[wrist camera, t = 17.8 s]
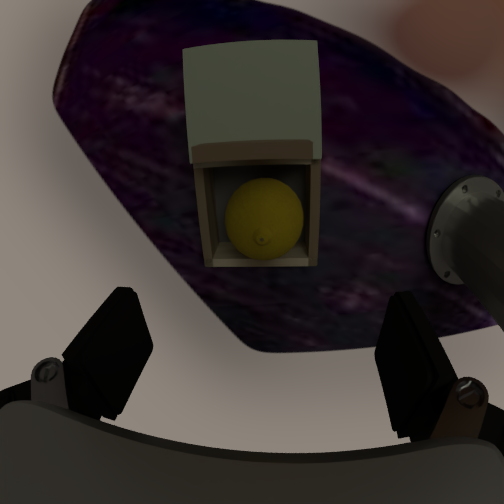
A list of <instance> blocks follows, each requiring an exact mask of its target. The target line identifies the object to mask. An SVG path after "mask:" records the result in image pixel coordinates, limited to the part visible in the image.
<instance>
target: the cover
mask: <svg viewBox="0 0 504 504" xmlns="http://www.w3.org/2000/svg"><path fill="white" fill-rule="evenodd" d="M183 71H184V91H185V108H186V122H187V135H188V147H189V159H190V163H202V162H215V161H232V160H254V159H322V135H321V98H320V77H319V61H318V48H317V41H312V40H258V41H242V42H230V43H221V44H213V45H205V46H198V47H192V48H186V49H183Z"/></svg>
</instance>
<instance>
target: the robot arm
mask: <svg viewBox="0 0 504 504" xmlns="http://www.w3.org/2000/svg"><path fill="white" fill-rule="evenodd" d="M426 247H427V255H428V258H429V262H430V264H431V266H432V268H433V270H434V271H435V272H436V273H437V274H438V276H439V277H440V278H442V279H443V280H444V281H446V282H448V283H451V284H465V285H466V286H467V287H468V288H469V289H470V290H471V292H472V293H473V294H474V295H475V296H476V297H477V299H478V300H479V301H480V302H481V303H482V305H483V306H484V307H485V308H486V310H487V311H488V312H489V313H490V315H491V316H492V317H493V318H494V320H495V321H496V322H497V324H498V325H499V326H500V327H501V329H502V330H503V331H504V193H503V191H502V189H501V188H500V187H499V185H498V184H497V183H495V182H494V181H493V180H491V179H489V178H487V177H484V176H480V175H469V176H466V177H463V178H461V179H459V180H457V181H456V182H455V183H453V184H452V185H451V186H450V187H449V188H448V189H447V190H446V191H445V192H444V193H443V195H442V196H441V198H440V199H439V200H438V202H437V204H436V206H435V208H434V210H433V213H432V215H431V218H430V221H429V225H428V230H427V239H426ZM152 350H153V342H152V339H151V336H150V333H149V330H148V327H147V324H146V321H145V318H144V315H143V312H142V309H141V305H140V302H139V299H138V295H137V293H136V292H134V291H133V289H132V288H130V287H117V288H116V289H115V290H114V291H113V292H112V293H111V294H110V296H109V297H108V298H107V299H106V300H105V301H104V303H103V304H102V305H101V306H100V307H99V308H98V310H97V311H96V312H95V313H94V315H93V316H92V317H91V318H90V319H89V321H88V322H87V323H86V324H85V325H84V327H83V328H82V329H81V330H80V332H79V333H78V334H77V335H76V337H75V338H74V339H73V341H72V342H71V343H70V344H69V346H68V347H67V348H66V350H65V351H64V352H63V354H62V356H63V358H64V361H63V362H61V361H60V360H59V359H57V358H53V357H50V358H46V359H44V360H41V361H40V362H39V363H37V364H36V366H35V367H34V369H33V370H32V374H31V380H28V381H25V382H23V383H20V384H17V385H15V386H12V387H9V388H6V389H4V390H2V391H0V504H504V410H502V409H500V408H498V407H496V406H494V405H492V404H490V403H488V397H489V395H488V391H487V389H486V387H485V386H484V385H483V384H482V383H481V382H480V381H479V380H477V379H475V378H472V377H463V378H460V379H458V377H457V375H456V373H455V371H454V369H453V367H452V365H451V363H450V360H449V359H448V356H447V355H446V353H445V350H444V348H443V347H442V345H441V343H440V341H439V339H438V337H437V335H436V333H435V331H434V330H433V328H432V326H431V325H430V323H429V321H428V319H427V318H426V316H425V314H424V312H423V311H422V309H421V307H420V305H419V304H418V302H417V300H416V299H415V297H414V295H413V294H412V292H410V291H406V292H396V293H395V294H394V296H391V297H390V299H389V302H388V306H387V310H386V314H385V318H384V321H383V325H382V329H381V332H380V335H379V339H378V342H377V345H376V349H375V361H376V365H377V368H378V372H379V376H380V380H381V383H382V387H383V392H384V396H385V400H386V403H387V408H388V413H389V417H390V422H391V426H392V430H393V431H394V432H395V431H397V435H398V438H404V437H410V441H411V442H410V443H404V444H398V445H392V446H386V447H379V448H371V449H361V450H352V451H340V452H325V453H266V452H249V451H238V450H229V449H220V448H212V447H205V446H199V445H193V444H187V443H182V442H177V441H172V440H167V439H163V438H158V437H154V436H150V435H146V434H142V433H138V432H135V431H131V430H128V429H124V428H121V427H117V426H115V425H111V424H108V423H105V422H102V421H100V418H101V416H103V417H105V418H108V419H111V420H115V419H116V417H117V415H119V414H121V413H122V411H123V409H124V407H125V405H126V403H127V401H128V399H129V397H130V395H131V393H132V390H133V389H134V386H135V384H136V382H137V380H138V378H139V376H140V374H141V372H142V370H143V368H144V366H145V364H146V363H147V360H148V358H149V356H150V355H151V353H152Z"/></svg>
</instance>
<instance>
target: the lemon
mask: <svg viewBox="0 0 504 504" xmlns="http://www.w3.org/2000/svg"><path fill="white" fill-rule="evenodd" d="M225 226H226V231H227V235H228V237H229V239H230V241H231V243H232V244H233V245H234V246H235V248H236V249H237V250H238V251H239V252H241V253H242V254H244V255H245V256H247V257H250V258H252V259H256V260H262V261H263V260H272V259H275V258H279V257H281V256H282V255H284V254H286V253H287V252H288V251H289V250H290V249H291V248H292V247H294V245H295V244H296V242H297V240H298V239H299V237H300V234H301V231H302V227H303V209H302V206H301V202H300V200H299V199H298V197H297V195H296V193H295V192H294V191H293V190H292V189H291V188H290V187H289V186H288V185H286V184H284V183H283V182H281V181H279V180H275V179H272V178H257V179H253V180H250V181H248V182H246V183H244V184H242V185H241V186H240V187H239V188H238V189H237V190H236V191H235V192H234V193H233V195H232V196H231V198H230V199H229V201H228V204H227V207H226V211H225Z"/></svg>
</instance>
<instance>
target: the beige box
mask: <svg viewBox="0 0 504 504" xmlns="http://www.w3.org/2000/svg"><path fill="white" fill-rule="evenodd" d="M193 168H194V178H195V188H196V197H197V206H198V215H199V224H200V232H201V240H202V247H203V255H204V262H205V267H269V266H317V256H318V237H319V214H320V159H254V160H232V161H215V162H202V163H193ZM257 178H272V179H275V180H279V181H281V182H283V183H284V184H286V185H288V186H289V187H290V188H291V189H292V190H293V191H294V192H295V193H296V195H297V197H298V199H299V200H300V202H301V206H302V209H303V227H302V231H301V234H300V237H299V239H298V240H297V242H296V244H295V245H294V247H292V248H291V249H290V250H289V251H288V252H287V253H286V254H284V255H282V256H281V257H279V258H275V259H272V260H263V261H262V260H256V259H252V258H250V257H247V256H245V255H244V254H242V253H241V252H239V251H238V250H237V249H236V248H235V246H234V245H233V244H232V243H231V241H230V239H229V237H228V235H227V231H226V226H225V211H226V207H227V204H228V201H229V199H230V198H231V196H232V195H233V193H234V192H235V191H236V190H237V189H238V188H239V187H240V186H241V185H242V184H244V183H246V182H248V181H250V180H253V179H257Z"/></svg>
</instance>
